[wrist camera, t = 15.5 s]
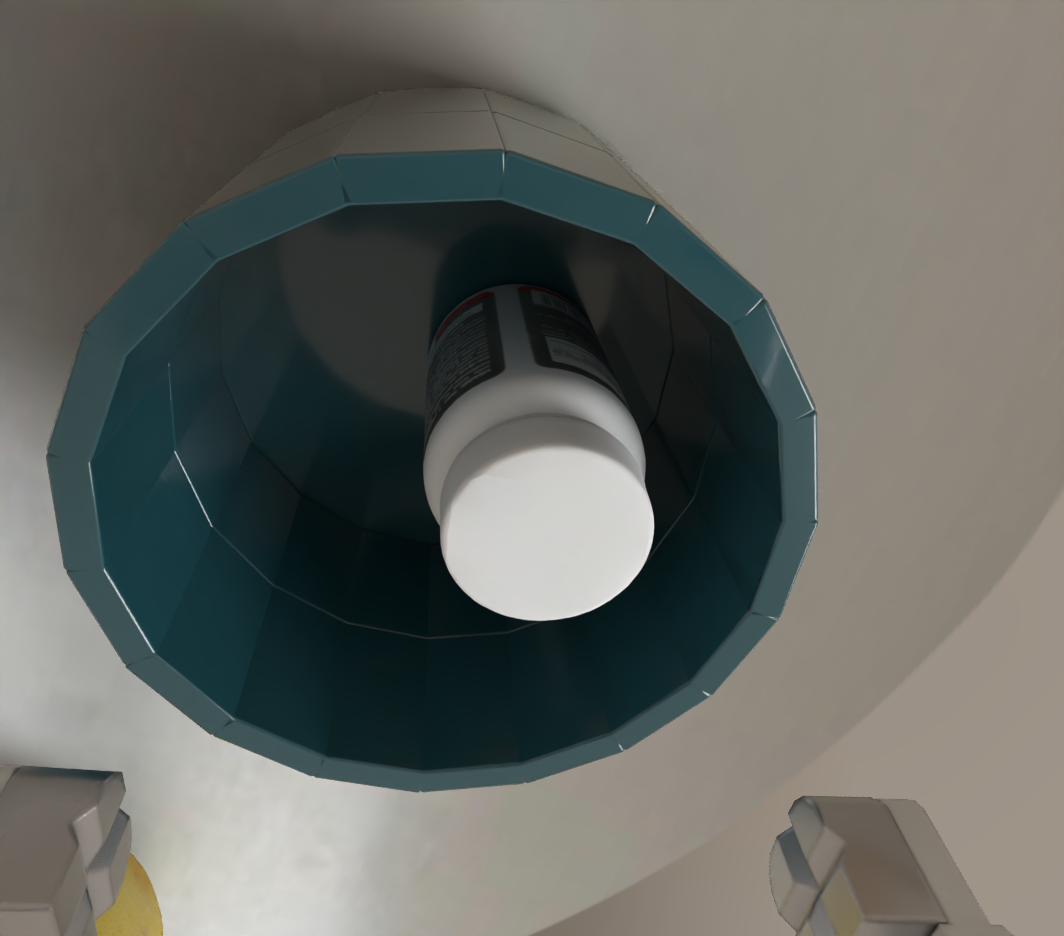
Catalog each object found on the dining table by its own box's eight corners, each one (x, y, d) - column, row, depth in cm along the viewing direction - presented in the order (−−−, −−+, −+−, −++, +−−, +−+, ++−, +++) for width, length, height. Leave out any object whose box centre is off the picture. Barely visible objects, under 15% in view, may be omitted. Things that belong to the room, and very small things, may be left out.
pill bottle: (446, 452, 23) (443, 657, 16) (411, 294, 21) (391, 454, 14) (607, 426, 23) (678, 619, 16) (592, 266, 21) (667, 410, 14)
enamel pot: (751, 130, 20) (942, 217, 12) (632, 567, 27) (707, 802, 19) (183, 36, 18) (-21, 68, 10) (208, 535, 25) (97, 784, 17)
